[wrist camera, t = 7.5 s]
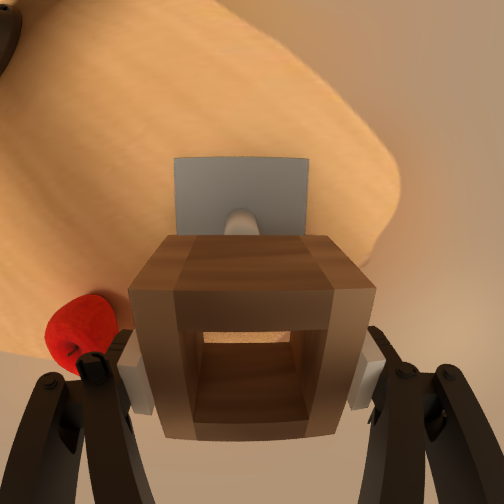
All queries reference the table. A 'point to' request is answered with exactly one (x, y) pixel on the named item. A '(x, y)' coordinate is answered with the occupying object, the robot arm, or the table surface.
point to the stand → (241, 195)
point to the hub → (250, 320)
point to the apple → (80, 330)
